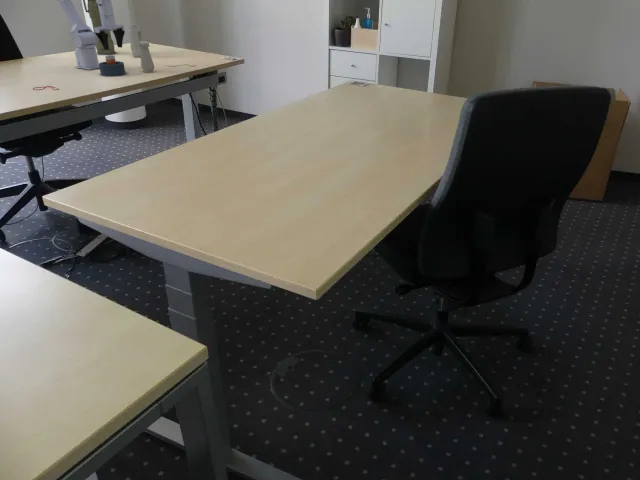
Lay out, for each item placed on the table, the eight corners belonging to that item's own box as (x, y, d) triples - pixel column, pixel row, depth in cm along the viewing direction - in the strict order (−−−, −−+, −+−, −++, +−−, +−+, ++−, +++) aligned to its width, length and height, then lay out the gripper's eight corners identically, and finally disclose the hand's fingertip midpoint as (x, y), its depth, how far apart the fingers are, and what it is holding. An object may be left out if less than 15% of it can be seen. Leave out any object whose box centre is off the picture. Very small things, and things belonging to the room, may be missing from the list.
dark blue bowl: (96, 74, 241) (93, 63, 238) (115, 70, 248) (113, 60, 246) (111, 77, 236) (109, 66, 234) (130, 73, 244) (128, 62, 242)
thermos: (120, 53, 286) (105, -21, 268) (96, 55, 280) (80, -21, 262) (116, 51, 292) (102, -22, 274) (93, 52, 286) (77, -22, 268)
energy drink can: (134, 55, 283) (128, 24, 275) (146, 55, 284) (140, 24, 276) (131, 57, 278) (125, 25, 270) (143, 57, 279) (138, 26, 271)
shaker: (106, 72, 241) (103, 56, 238) (113, 71, 244) (110, 55, 241) (112, 73, 240) (109, 57, 236) (119, 72, 243) (116, 56, 239)
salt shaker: (152, 73, 246) (147, 42, 240) (140, 72, 246) (134, 42, 240) (156, 70, 251) (152, 40, 245) (144, 70, 251) (139, 40, 245)
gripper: (100, 17, 228) (106, 51, 235) (126, 14, 239) (132, 47, 246) (88, 16, 231) (95, 49, 238) (115, 13, 242) (121, 45, 249)
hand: (113, 48), depth 242 cm, fingers open, 7 cm apart
